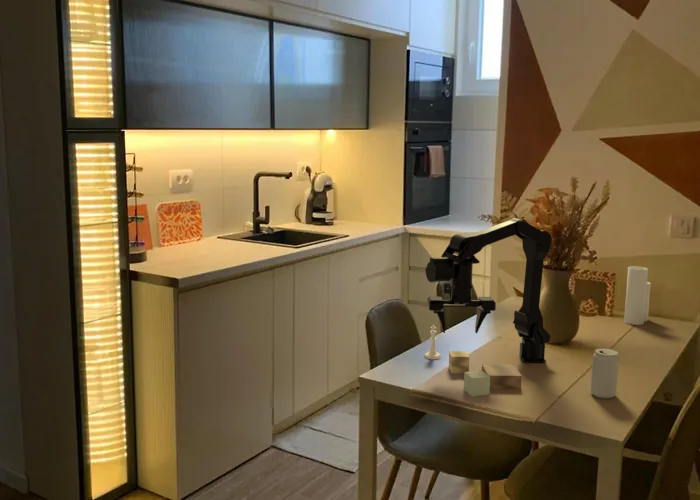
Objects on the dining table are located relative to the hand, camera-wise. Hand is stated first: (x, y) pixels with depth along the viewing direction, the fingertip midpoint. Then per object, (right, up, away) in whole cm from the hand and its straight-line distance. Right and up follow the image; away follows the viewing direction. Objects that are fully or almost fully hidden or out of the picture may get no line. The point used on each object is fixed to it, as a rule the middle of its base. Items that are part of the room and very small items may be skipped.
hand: (460, 332), depth 205 cm
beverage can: (+35, -15, -16) cm, 41 cm away
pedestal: (+10, -13, -8) cm, 18 cm away
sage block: (+2, -14, -15) cm, 21 cm away
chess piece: (-6, -9, +14) cm, 18 cm away
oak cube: (0, -11, +2) cm, 11 cm away
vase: (+72, -2, +56) cm, 91 cm away
